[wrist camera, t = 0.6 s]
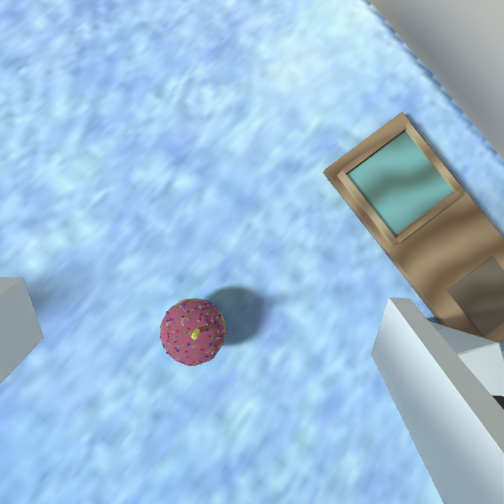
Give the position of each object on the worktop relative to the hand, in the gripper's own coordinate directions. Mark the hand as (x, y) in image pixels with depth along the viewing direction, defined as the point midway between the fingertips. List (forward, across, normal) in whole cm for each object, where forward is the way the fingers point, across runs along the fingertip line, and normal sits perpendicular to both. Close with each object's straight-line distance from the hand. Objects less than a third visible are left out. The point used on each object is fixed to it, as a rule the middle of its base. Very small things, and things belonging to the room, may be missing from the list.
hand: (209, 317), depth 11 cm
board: (+30, -28, +8) cm, 42 cm away
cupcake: (+24, +5, +21) cm, 33 cm away
